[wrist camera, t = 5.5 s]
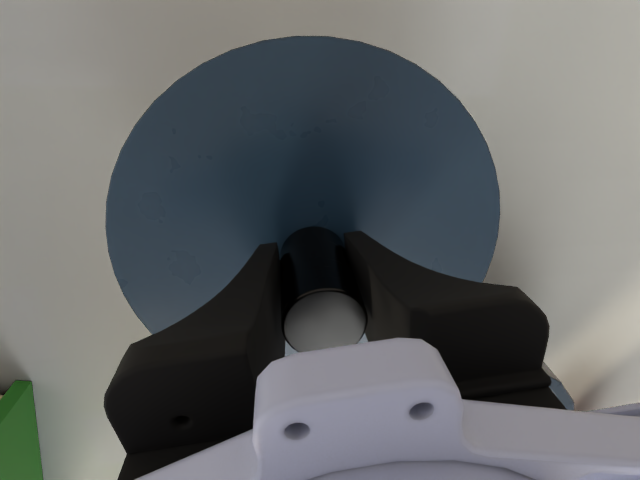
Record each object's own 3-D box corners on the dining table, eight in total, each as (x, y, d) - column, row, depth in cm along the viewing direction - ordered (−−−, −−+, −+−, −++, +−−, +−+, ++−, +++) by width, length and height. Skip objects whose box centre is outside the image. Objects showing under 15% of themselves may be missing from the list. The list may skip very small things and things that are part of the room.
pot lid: (349, 409, 19) (371, 519, 15) (60, 296, 15) (-36, 404, 10) (558, 187, 15) (682, 247, 10) (236, -80, 10) (204, -184, 6)
